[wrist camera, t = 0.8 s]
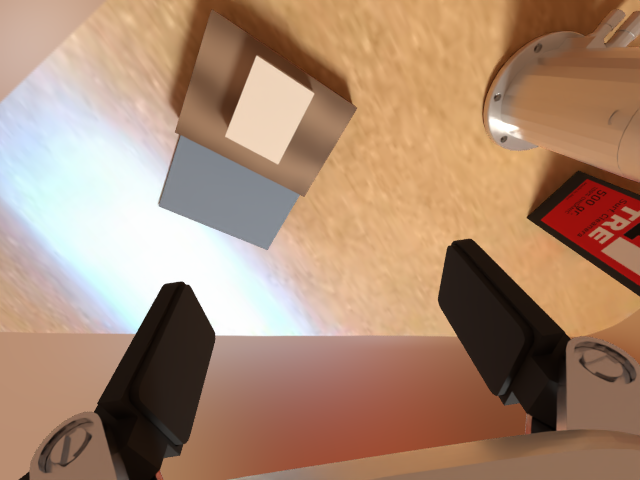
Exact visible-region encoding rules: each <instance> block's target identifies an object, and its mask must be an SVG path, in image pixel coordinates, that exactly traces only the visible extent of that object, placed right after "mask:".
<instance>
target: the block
mask: <svg viewBox="0 0 640 480" xmlns="http://www.w3.org/2000/svg"><path fill="white" fill-rule="evenodd" d="M314 94H315V93H314V92H313V91H312V90H311V89H309V88H308V87H306V86H305V85H303V84H302V83H300V82H299V81H297V80H296V79H294V78H293V77H291V76H290V75H288V74H287V73H285V72H284V71H282V70H281V69H279V68H278V67H276V66H275V65H273V64H272V63H270V62H269V61H267V60H266V59H264V58H263V57H261V56H260V55H257V56H256V58H255V61H254V63H253V66H252V68H251V71H250V73H249V76H248V79H247V81H246V84H245V86H244V89H243V91H242V94H241V97H240V99H239V102H238V104H237V107H236V109H235V112H234V115H233V117H232V120H231V122H230V125H229V127H228V130H227V132H226V135H225V137H227V138H229V139H231V140H232V141H234V142H236V143H238V144H240V145H242V146H244V147H246V148H248V149H250V150H251V151H253V152H255V153H257V154H259V155H261V156H263V157H265V158H267V159H269V160H270V161H272V162H274V163H276V164H279V162H280V160H281V158H282V156H283V154H284V152H285V150H286V148H287V147H288V145H289V143H290V141H291V139H292V137H293V135H294V133H295V131H296V129H297V127H298V125H299V123H300V121H301V119H302V117H303V115H304V113H305V111H306V109H307V107H308V106H309V104H310V102H311V100H312V98H313V96H314Z"/></svg>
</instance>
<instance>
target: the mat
mask: <svg viewBox="0 0 640 480" xmlns="http://www.w3.org/2000/svg"><path fill="white" fill-rule="evenodd" d="M298 197H299V194H297V193H295V192H293V191H291V190H289V189H287V188H285V187H283V186H281V185H279V184H277V183H275V182H273V181H271V180H269V179H267V178H265V177H263V176H261V175H259V174H257V173H255V172H253V171H251V170H249V169H247V168H245V167H243V166H241V165H239V164H237V163H235V162H233V161H231V160H229V159H227V158H225V157H223V156H221V155H219V154H217V153H215V152H213V151H211V150H209V149H207V148H205V147H203V146H201V145H199V144H197V143H195V142H193V141H191V140H189V139H187V138H185V137H183V136H180V139H179V142H178V145H177V149H176V152H175V155H174V158H173V162H172V165H171V168H170V171H169V175H168V178H167V181H166V184H165V187H164V191H163V194H162V197H161V200H160V204H159V207H162V208H164V209H167V210H169V211H172V212H174V213H177V214H179V215H182V216H184V217H187V218H189V219H192V220H194V221H196V222H199V223H201V224H204V225H206V226H209V227H211V228H214V229H216V230H219V231H221V232H224V233H226V234H229V235H231V236H234V237H236V238H239V239H241V240H244V241H246V242H249V243H251V244H254V245H256V246H259V247H261V248H264V249H266V250H268V248H269V246H270V245H271V243H272V241H273V240H274V238H275V236H276V235H277V233H278V231H279V229H280V228H281V226H282V224H283V223H284V221H285V219H286V217H287V216H288V214H289V212H290V211H291V209H292V207H293V206H294V204H295V202H296V200H297V199H298Z"/></svg>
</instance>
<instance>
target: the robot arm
mask: <svg viewBox="0 0 640 480" xmlns="http://www.w3.org/2000/svg"><path fill="white" fill-rule="evenodd" d="M624 17H625V13H624V12H623V11H622V10H619V9H614V10H611V11H610V13H609V14H608V15H607V16H606V17H605V18H604V19H603V21H602V22H601V23H600V24H599V26H598V27H597V28H596V29H595V31H594V32H593V33H590V34H588V35H586V36H584V35H583V34H580V33H577V32H574V31H561V32H553V33H549V34H546V35H543V36H540V37H538V38H536V39H534V40H532V41H530V42H528V43H527V44H526V45H524V46H523V47H522V48H520V49H519V50H518V51H517V52H516V53H515V54H514V55H513V56H512V57H511V58H509V59H508V61H507V62H506V63H505V64H504V66H503V67H502V68H501V69H500V71H499V72H498V74H497V76H496V77H495V79H494V81H493V82H492V84H491V87H490V89H489V91H488V94H487V97H486V101H485V105H484V114H483V117H484V126H485V129H486V132H487V134H488V136H489V137H490V139H491V140H492V141H493V142H494V143H495V144H497V145H499V146H501V147H503V148H505V149H508V150H513V151H523V150H529V149H533V148H536V147H539V146H540V147H542V148H545V149H548V150H550V151H553V152H556V153H559V154H561V155H564V156H567V157H570V158H572V159H575V160H578V161H581V162H583V163H586V164H589V165H592V166H594V167H597V168H600V169H602V170H605V171H608V172H611V173H613V174H616V175H619V176H622V177H624V178H627V179H630V180H633V181H636V182H639V183H640V47H626V46H627V45H628V44H629V43H630V42H631V41H633V40H635V38H636V37H637V36H638V35H639V34H640V11H636V12H633V13H632V14H631V15H630V16H629V18H628V19H627V20H626V21H625V22H624V23H623V24H622V25H621V26H620V27H619V28H618V29H617V31H616V32H615V34H614V35H613V36H612V37H611V38H610V39H609V40H608V42H607V43H604V38H605V37H606V36H607V35H608V34H609V32H610V31H612V30H613V29H614V28H615V27H616V26H617V25H618V24H619V23H620V21H621V20H622V19H623V18H624ZM494 96H495V97H494ZM438 302H439V306H440V308H441V309H442V311H443V313H444V314H445V316H446V318H447V319H448V321H449V323H450V324H451V326H452V328H453V329H454V331H455V333H456V334H457V336H458V338H459V339H460V341H461V343H462V344H463V346H464V348H465V349H466V351H467V353H468V355H469V356H470V358H471V359H472V361H473V363H474V365H475V366H476V368H477V370H478V371H479V373H480V374H481V376H482V378H483V379H484V381H485V383H486V385H487V386H488V388H489V389H490V391H491V392H492V393H493V394H494V395H496V396H499V398H500V399H501V401H502V403H503V404H504V405H510V404H517V403H520V404H521V405H522V407H523V409H524V410H525V411H526V413H527V418H526V429H525V435H518V436H510V437H503V438H496V439H487V440H481V441H474V442H468V443H461V444H454V445H448V446H441V447H434V448H428V449H421V450H414V451H408V452H401V453H395V454H388V455H382V456H375V457H369V458H362V459H356V460H350V461H343V462H336V463H331V464H324V465H318V466H311V467H304V468H299V469H292V470H285V471H279V472H273V473H267V474H260V475H254V476H248V477H242V478H236V479H230V480H640V365H639V364H638V363H637V362H636V360H635V359H634V358H633V357H631V356H630V355H629V354H627V353H626V352H625V351H624V350H622V349H620V348H618V347H617V346H615V345H613V344H611V343H609V342H606V341H604V340H601V339H597V338H593V337H582V336H580V337H576V338H572V339H570V338H569V337H568V336H567V335H566V334H565V332H564V331H563V330H562V329H561V328H560V327H559V326H558V325H557V324H556V323H555V322H554V321H553V320H552V319H551V318H550V317H549V316H548V315H547V314H546V313H545V312H544V311H543V310H542V309H541V308H540V307H539V306H538V305H537V304H536V303H535V302H534V301H533V300H532V299H531V298H530V297H529V296H528V295H527V294H526V293H525V292H524V291H523V290H522V289H521V288H520V287H519V286H518V285H517V284H516V283H515V282H514V281H513V280H512V279H511V278H510V277H509V276H508V275H507V274H506V273H505V272H504V271H503V270H502V268H501V267H500V266H499V265H498V264H497V263H496V262H495V261H494V260H493V259H492V258H491V257H490V256H489V255H488V254H487V253H486V252H485V251H484V250H483V249H482V248H481V247H480V246H479V245H478V244H477V243H476V242H475V241H473V240H472V239H464V240H457V241H453V242H452V244H451V246H448V248H447V252H446V257H445V263H444V268H443V274H442V279H441V285H440V290H439V295H438ZM214 343H215V332H214V330H213V328H212V326H211V324H210V322H209V320H208V319H207V317H206V315H205V313H204V311H203V309H202V307H201V305H200V303H199V302H198V300H197V298H196V296H195V294H194V292H193V290H192V288H191V287H190V285H186V284H185V283H184V282H174V283H168V284H164V285H163V286H162V288H161V290H160V292H159V293H158V295H157V297H156V299H155V301H154V302H153V304H152V306H151V308H150V310H149V311H148V313H147V315H146V317H145V319H144V320H143V322H142V324H141V326H140V328H139V329H138V331H137V333H136V335H135V337H134V338H133V340H132V342H131V344H130V345H129V347H128V349H127V351H126V353H125V354H124V356H123V358H122V360H121V362H120V363H119V365H118V367H117V369H116V371H115V373H114V374H113V376H112V378H111V380H110V382H109V383H108V385H107V387H106V389H105V391H104V392H103V394H102V396H101V398H100V399H99V401H98V403H97V404H98V406H97V407H96V409H95V411H94V412H83V413H80V414H77V415H74V416H72V417H71V418H69V419H67V420H65V421H64V422H62V423H61V424H60V425H59V426H57V427H56V428H55V429H54V430H53V431H52V432H51V433H50V434H49V435H48V436H47V437H46V438H45V439H44V440H43V442H42V443H41V444H40V446H39V447H38V449H37V450H36V452H35V454H34V456H33V458H32V460H31V464H30V471H29V472H28V473H27V474H26V475H24V476H23V477H22V478H20V479H19V480H164V479H163V477H162V475H161V472H160V468H161V465H162V461H163V458H167V457H173V456H180V454H181V450H182V447H183V444H185V443H186V442H187V441H188V439H189V437H190V434H191V430H192V426H193V422H194V418H195V415H196V411H197V407H198V403H199V400H200V395H201V392H202V388H203V385H204V380H205V377H206V373H207V369H208V366H209V361H210V358H211V354H212V350H213V347H214Z"/></svg>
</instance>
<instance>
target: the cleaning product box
mask: <svg viewBox="0 0 640 480" xmlns="http://www.w3.org/2000/svg"><path fill="white" fill-rule="evenodd" d="M527 219H529V220H530V221H532V222H533V223H535V224H536V225H537V226H539V227H540V228H542V229H543V230H545V231H546V232H548V233H549V234H550V235H552V236H553V237H555V238H556V239H558V240H559V241H561V242H562V243H563V244H565V245H566V246H568V247H569V248H571V249H572V250H574V251H575V252H576V253H578V254H579V255H581V256H582V257H584V258H585V259H587V260H588V261H589V262H591V263H592V264H594V265H595V266H597V267H598V268H600V269H601V270H602V271H604V272H605V273H607V274H608V275H610V276H611V277H613V278H614V279H615V280H617V281H618V282H620V283H621V284H623V285H624V286H626V287H627V288H628V289H630V290H631V291H633V292H634V293H636V294H637V295H638V296H640V195H638V194H635V193H633V192H630V191H628V190H625V189H623V188H620V187H618V186H615V185H613V184H610V183H608V182H605V181H603V180H600V179H598V178H595V177H593V176H590V175H588V174H585V173H583V172H580V171H578V172H576V173H575V174H574V175H573V176H572V177H571V178H570V179H569V180H568V181H567V182H565V183H564V184H563V185H562V186H561V187H560V188H559V189H558V190H557V191H556V192H554V193H553V194H552V195H551V196H550V197H549V198H548V199H547V200H546V201H545V202H543V203H542V204H541V205H540V206H539V207H538V208H537V209H536V210H535V211H534V212H533V213H531V214H530V215H529V216H528V217H527Z"/></svg>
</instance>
